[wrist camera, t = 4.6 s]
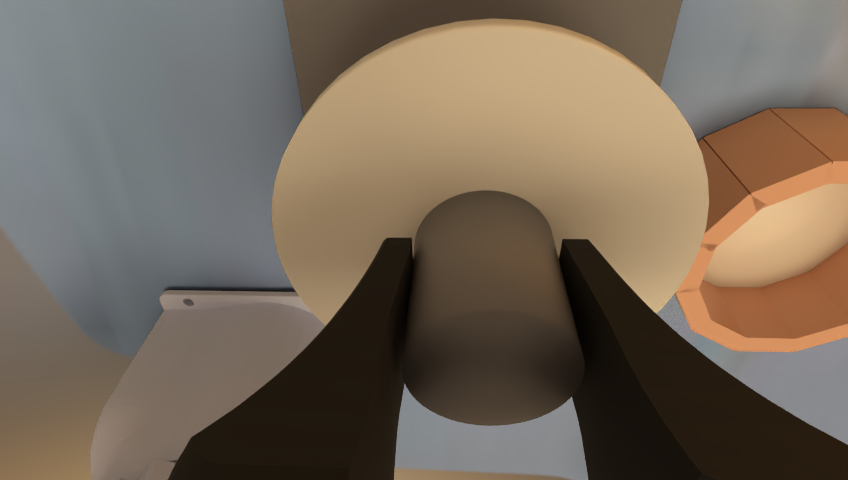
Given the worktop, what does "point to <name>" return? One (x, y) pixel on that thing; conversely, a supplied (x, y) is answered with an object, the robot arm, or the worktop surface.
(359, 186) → the lid
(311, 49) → the mat
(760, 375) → the worktop surface
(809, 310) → the bowl
